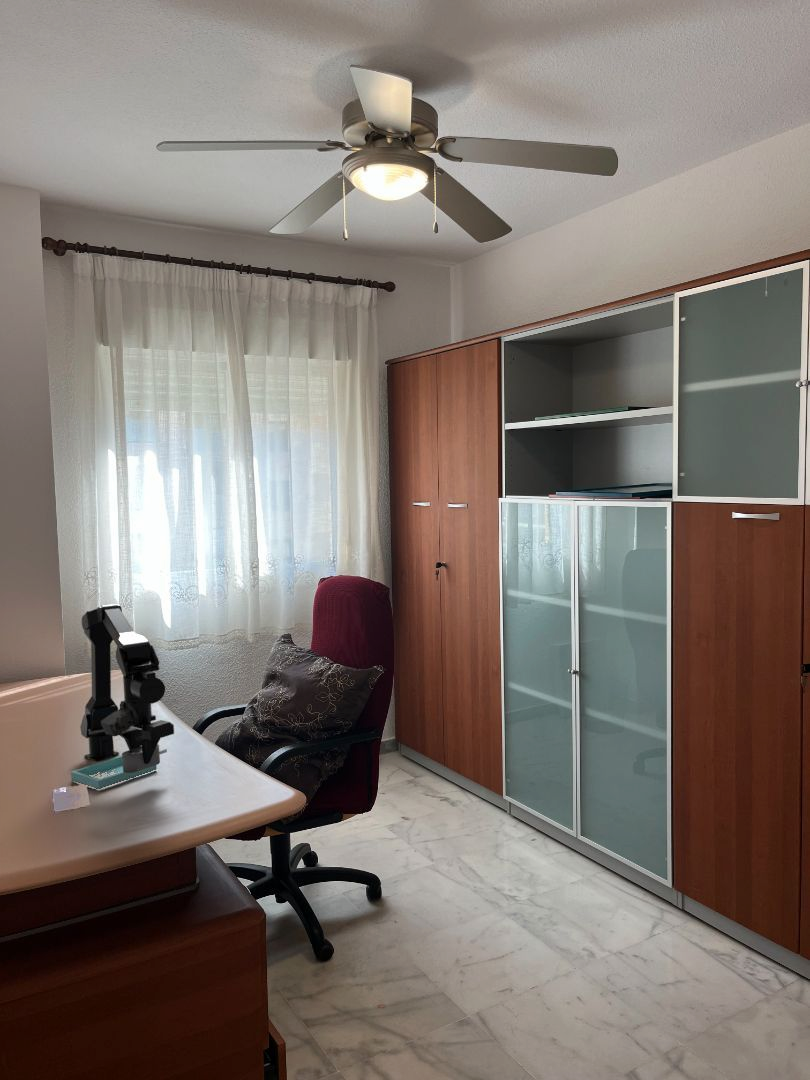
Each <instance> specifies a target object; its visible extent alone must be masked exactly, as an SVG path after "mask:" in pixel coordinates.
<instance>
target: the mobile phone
mask: <svg viewBox="0 0 810 1080" xmlns="http://www.w3.org/2000/svg"><path fill="white" fill-rule="evenodd" d="M74 785H75V786H76V785H77V784H74ZM69 786H70V785H69ZM69 786H64V787H63V786H62V787H58V788H54V789H53V790H52V791H53V799H52V803H53V802H54V810H55V811H60V810H65V809H68V808H73V807H75V806H76V805H75V801H76V800H77V801H78V800H79V799H80V798H81V797H80V796H81V795H82V794H81V795H80V793H78V792H77V793H76V794H74V793H75V792H74V793H71V792H70V791H71V790H70V789H69ZM67 788H68V789H69V790H70V791H69V790H68V789H67ZM76 791H77V790H76ZM67 792H68V793H67ZM84 794H85V793H84ZM76 795H77V796H76ZM74 796H75V797H74ZM85 796H86V795H85ZM85 796H84V797H85ZM72 797H73V798H72ZM76 797H77V799H76V800H74V799H75V798H76ZM79 797H80V798H79ZM69 798H70V799H69ZM73 800H74V801H73ZM84 800H85V799H84ZM70 801H71V804H70ZM72 801H73V802H72ZM83 805H84V804H83ZM77 806H78V803H77ZM54 810H53V811H54Z"/></svg>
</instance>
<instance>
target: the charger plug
mask: <svg viewBox="0 0 810 1080" xmlns="http://www.w3.org/2000/svg"><path fill="white" fill-rule="evenodd" d="M167 752H168V750H167V749H166V748H164V747H163V748H160V744H159V743H158V744H157V746H156V748H155V751H154V753H153V756H152V758H151V761H150V763H148V764H145V763H144V759H143V753H142V746H141V747H138V748H135V749H132V750H129V749H128V750H126V751H123V752H122V753H121V756H122V763H123V772H124V773H133V772H137V771H140V770H143V769H146V768H149V767H152V766H155V765H156V766H157V765H159V764H160V763H161V757H160V756H161V755H163V754H166V753H167Z"/></svg>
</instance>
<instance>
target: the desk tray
mask: <svg viewBox="0 0 810 1080" xmlns="http://www.w3.org/2000/svg"><path fill="white" fill-rule="evenodd" d="M114 769H115V770H114ZM156 769H157V765H155V766H152V767H149V768H146V769H143V770H140V771H137V772H133V773H124V772H123V763H122V755H118V756H116V757H112V758H108V759H107V760H106V759H105V760H104V761H103V760H102V761H101V762H100V761H99V762H98V763H94V764H91V765H88V766H85V767H82V768H79V769H75V770H72V771H70V773H71V774H70V775H71V777H70V778H71V782H72V781H75V782H78V783H81V784H84V785H88V786H91V787H94V788H96V789H101V788H103V787H106V786H109V785H112V784H115V783H118V782H121V781H124V780H128V779H130V778H134V777H136V776H139V775H142V774H145V773H148V772H151V771H153V770H156ZM112 770H113V771H114V773H116V774H113V775H110V774H109V773H111V772H113V771H112ZM157 770H158V769H157ZM98 772H100V773H99V774H100V775H101V774H102V773H105V772H107V774H109V775H110V776H108V775H107V777H104V778H102V779H98V778H94V777H95V776H97V775H98V774H97V773H98ZM118 772H119V773H118ZM94 774H97V775H95V776H94V777H91V776H89V775H94ZM105 774H106V773H105ZM101 776H102V775H101ZM101 776H100V777H101Z"/></svg>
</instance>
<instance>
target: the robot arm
mask: <svg viewBox="0 0 810 1080" xmlns="http://www.w3.org/2000/svg"><path fill="white" fill-rule="evenodd" d="M81 627H82V630H83V633H84V635H85V636H86V638H87V639H88V640H89V642H90V652H91V653H90V656H91V658H90V659H91V660H90V661H91V663H90V664H91V665H90V666H91V668H90V669H91V697H90V698H89V700H88V702H87V703H86V705H85V708H84V714H83V716H82V719H81V723H80V726H79V727H80V734H81V736H83V737H84V738H85V739H88V749H89V750H88V751H89V753H87V754H85V755H83V756H84V758H85V759H89V760H91V761H94V760H95V762H100V761H103V760H106V759H111V758H114V757H115V756H116V757H117V756H120V752H119V751H116V750H115V749H114V747H115V746H114V737H118V736H120V737H121V738H123V739H124V741H125V743H126V746H127V748H128V751H129V750H132V749H135V748H138V747H141V746H142V753H143V759H144V763H145V764H148V763H150V761H151V758H152V756H153V753H154V751H155V748H156V746H157V744H158V745H159V742H160V740H161V739H163V738H165V737H168V736H172V735H174V734H175V724H173V723H172V722H170V721H167V720H162V719H160V720H158V721H156V720H157V717H156V715H155V714H153V713H152V704H156V703H158V702H159V701H161V700H162V698H163V697H164V695H165V693H166V686H165V684H164V682H163V680H162V679H160V678H158V677H156V672H157V671H160V666H159V665H160V660H159V658H158V655H157V652H156V650H155V648H154V646H153V644H152V643H151V642H150V641H149V640H148V639H147V638H146V637H145V636H144V635H141V634H139V633H136V632H135V631H134V629H133V627H132V626H131V625H130V623H129V621H128V620H127V618H126V616H125V614H124V613H123V610H122V605H121V604H118V603H114V604H113V603H110V604H103V605H101V606H98V607H97V608H95V609H92V610H88V611H86V612H85V613H84V614H83V615H82V617H81ZM112 642H114V644H115V645H116V650H115V659H116V662H117V665H118V667H119V669H120V671H121V673H122V676H123V677H122V679H123V681H122V682H123V696H124V700H121V701H120V703H119V707H118V705H117V704H116V703H115V701H114V700H113V698H112V676H111V675H112V674H111V673H112V672H111V671H112V669H111V666H112V664H111V663H112V662H111V661H112V660H111V659H112V658H111V652H112V651H111V644H112Z"/></svg>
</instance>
